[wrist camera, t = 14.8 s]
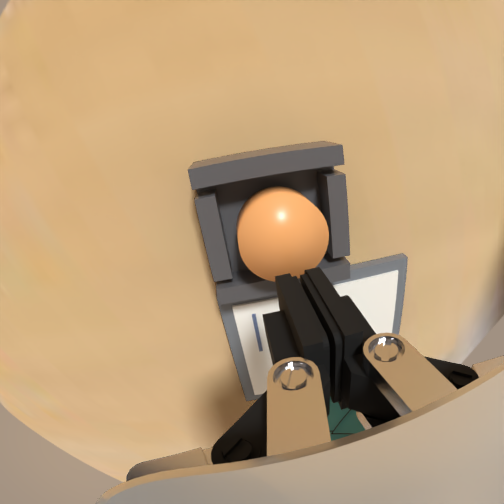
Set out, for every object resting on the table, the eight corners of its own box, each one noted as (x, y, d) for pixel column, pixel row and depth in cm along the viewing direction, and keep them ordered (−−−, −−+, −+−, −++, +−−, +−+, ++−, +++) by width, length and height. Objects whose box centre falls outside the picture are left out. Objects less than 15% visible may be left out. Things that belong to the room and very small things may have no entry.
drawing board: (403, 253, 24) (409, 258, 23) (390, 359, 29) (394, 366, 28) (216, 291, 24) (216, 299, 23) (245, 395, 29) (246, 403, 28)
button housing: (323, 141, 20) (342, 144, 16) (334, 257, 23) (350, 278, 20) (193, 162, 19) (187, 169, 16) (220, 279, 23) (220, 304, 20)
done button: (311, 180, 18) (324, 188, 15) (319, 255, 20) (331, 272, 17) (229, 194, 18) (230, 205, 15) (244, 269, 20) (247, 289, 17)
